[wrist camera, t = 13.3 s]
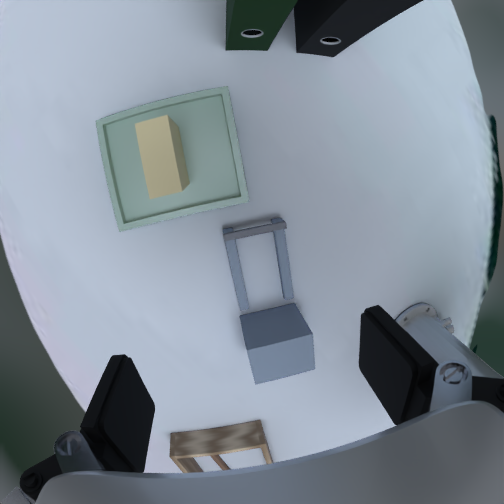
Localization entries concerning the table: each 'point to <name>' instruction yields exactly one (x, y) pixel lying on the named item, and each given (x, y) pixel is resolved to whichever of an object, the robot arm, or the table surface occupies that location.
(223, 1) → the table surface
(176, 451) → the frame
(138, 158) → the tray
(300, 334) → the dispenser
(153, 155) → the block
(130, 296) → the table surface
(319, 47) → the pair of upright books
